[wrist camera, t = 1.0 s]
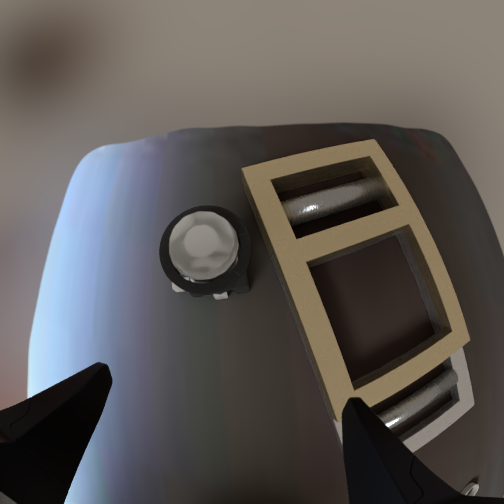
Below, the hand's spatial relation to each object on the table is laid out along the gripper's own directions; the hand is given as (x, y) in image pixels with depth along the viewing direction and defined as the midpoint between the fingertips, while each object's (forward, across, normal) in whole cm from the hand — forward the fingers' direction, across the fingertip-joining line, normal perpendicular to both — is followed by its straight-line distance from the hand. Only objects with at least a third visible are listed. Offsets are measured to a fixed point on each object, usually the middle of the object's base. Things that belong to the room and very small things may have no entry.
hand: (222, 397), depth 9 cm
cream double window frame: (+15, -12, +4) cm, 19 cm away
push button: (+15, +3, +3) cm, 16 cm away
